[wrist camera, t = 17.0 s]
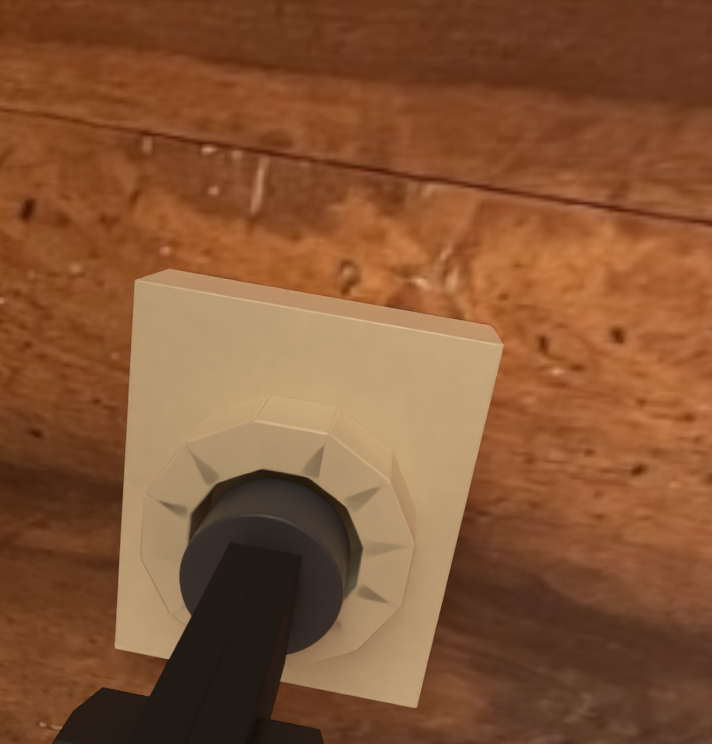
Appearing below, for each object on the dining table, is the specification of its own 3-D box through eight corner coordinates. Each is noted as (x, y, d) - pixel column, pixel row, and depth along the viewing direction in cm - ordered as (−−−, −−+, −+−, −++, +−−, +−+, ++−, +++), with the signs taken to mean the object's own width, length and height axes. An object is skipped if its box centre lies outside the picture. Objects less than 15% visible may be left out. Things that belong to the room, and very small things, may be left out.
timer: (168, 267, 17) (97, 291, 13) (492, 325, 17) (517, 366, 13) (144, 601, 20) (82, 697, 16) (416, 654, 20) (417, 765, 16)
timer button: (210, 464, 14) (184, 499, 13) (362, 492, 14) (355, 532, 13) (197, 592, 15) (171, 640, 14) (338, 619, 15) (329, 672, 14)
